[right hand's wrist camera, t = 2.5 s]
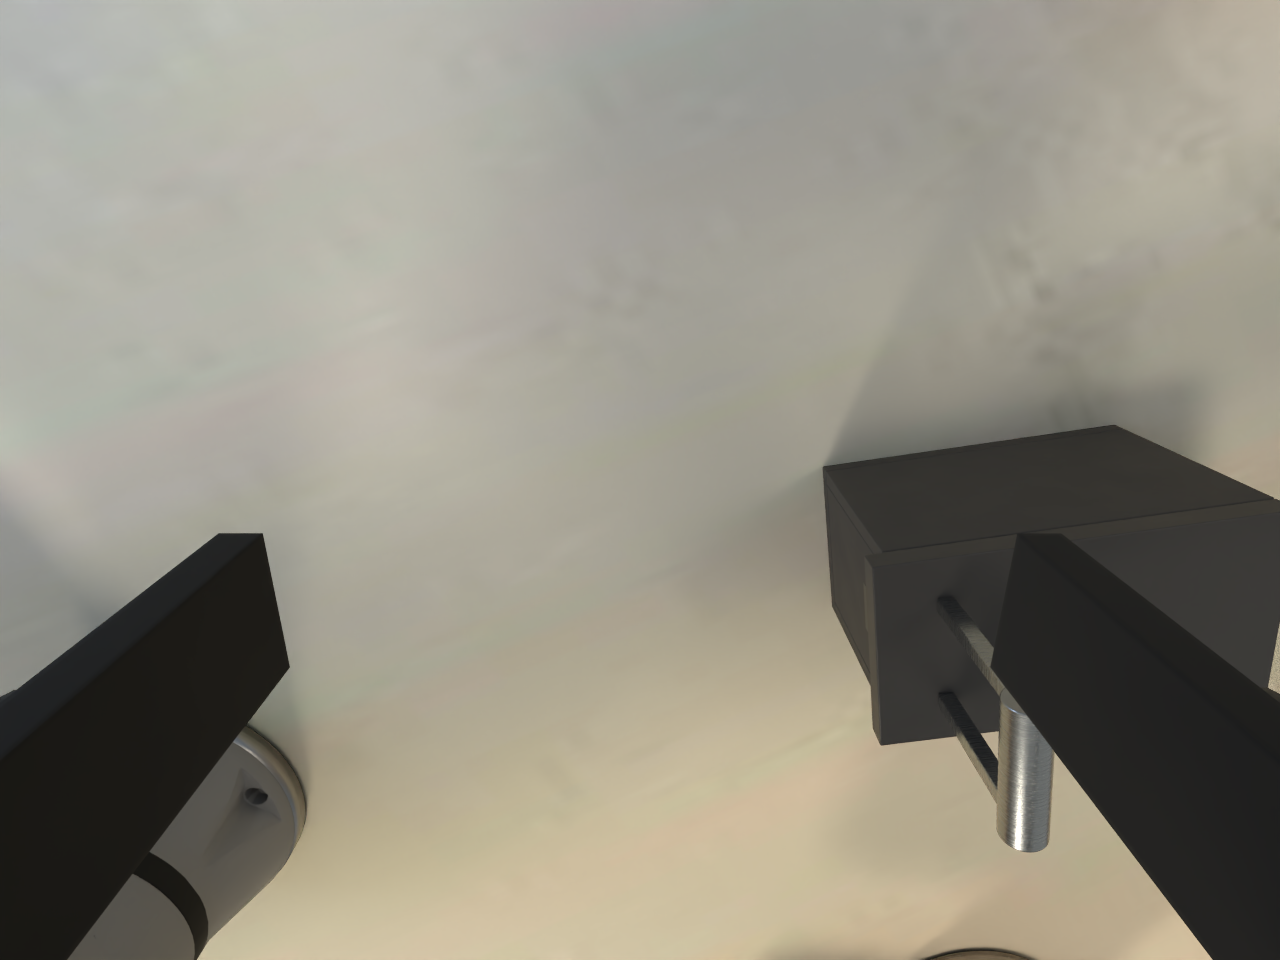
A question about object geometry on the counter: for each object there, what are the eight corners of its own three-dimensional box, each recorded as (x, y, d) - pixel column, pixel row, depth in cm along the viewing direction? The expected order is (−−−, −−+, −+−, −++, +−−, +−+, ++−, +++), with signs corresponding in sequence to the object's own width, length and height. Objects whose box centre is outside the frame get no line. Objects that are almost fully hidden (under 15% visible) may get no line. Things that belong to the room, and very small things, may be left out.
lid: (872, 728, 34) (948, 897, 25) (863, 554, 31) (946, 683, 22) (1245, 682, 33) (1449, 842, 25) (1276, 498, 30) (1522, 610, 21)
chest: (831, 606, 44) (888, 725, 34) (822, 466, 41) (881, 551, 31) (1103, 570, 43) (1244, 681, 33) (1114, 424, 40) (1275, 497, 30)
